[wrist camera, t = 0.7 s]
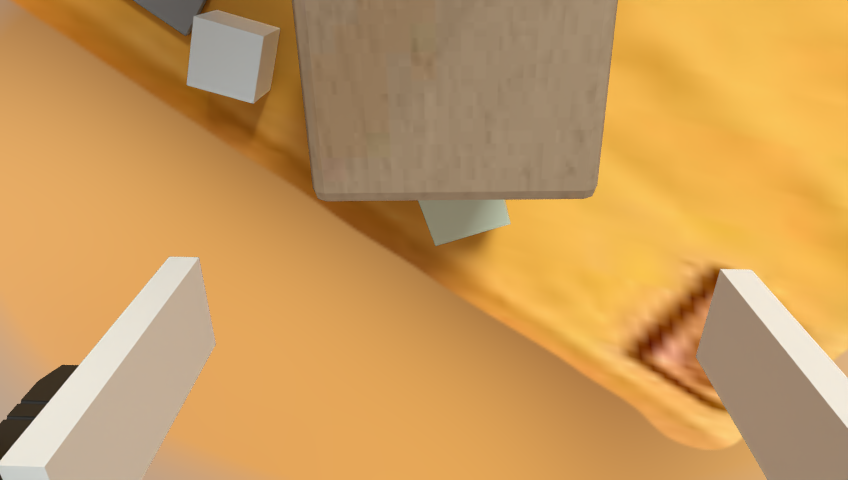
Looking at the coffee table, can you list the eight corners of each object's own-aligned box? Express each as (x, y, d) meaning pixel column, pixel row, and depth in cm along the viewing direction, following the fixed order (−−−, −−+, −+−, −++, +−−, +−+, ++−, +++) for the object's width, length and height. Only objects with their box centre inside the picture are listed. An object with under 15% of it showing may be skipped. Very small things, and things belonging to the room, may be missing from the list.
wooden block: (372, 87, 39) (311, 206, 21) (362, -88, 35) (273, -126, 17) (526, 84, 39) (599, 204, 21) (536, -93, 34) (637, -136, 16)
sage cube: (412, 151, 41) (408, 176, 36) (482, 128, 40) (487, 151, 36) (436, 214, 43) (435, 246, 38) (503, 194, 42) (510, 223, 38)
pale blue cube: (217, 9, 37) (193, 16, 34) (280, 27, 38) (263, 36, 34) (210, 72, 39) (186, 85, 35) (270, 89, 39) (253, 103, 36)
